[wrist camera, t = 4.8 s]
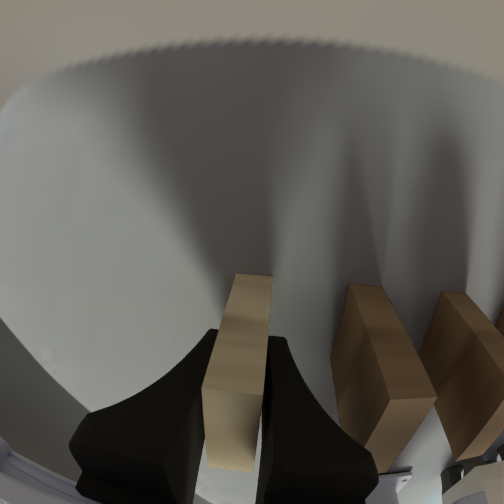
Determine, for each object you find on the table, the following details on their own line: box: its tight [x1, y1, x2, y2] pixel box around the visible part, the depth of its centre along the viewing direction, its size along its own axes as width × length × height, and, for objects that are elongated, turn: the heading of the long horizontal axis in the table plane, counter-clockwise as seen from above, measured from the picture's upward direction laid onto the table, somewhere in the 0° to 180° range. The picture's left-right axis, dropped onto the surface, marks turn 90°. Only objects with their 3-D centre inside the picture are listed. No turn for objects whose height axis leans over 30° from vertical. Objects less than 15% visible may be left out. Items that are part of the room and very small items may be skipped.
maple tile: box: [202, 273, 273, 472], centre depth 12 cm, size 4×2×7 cm, turn 177°
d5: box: [330, 284, 437, 473], centre depth 12 cm, size 4×2×7 cm, turn 175°
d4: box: [418, 292, 504, 461], centre depth 11 cm, size 4×2×7 cm, turn 175°
